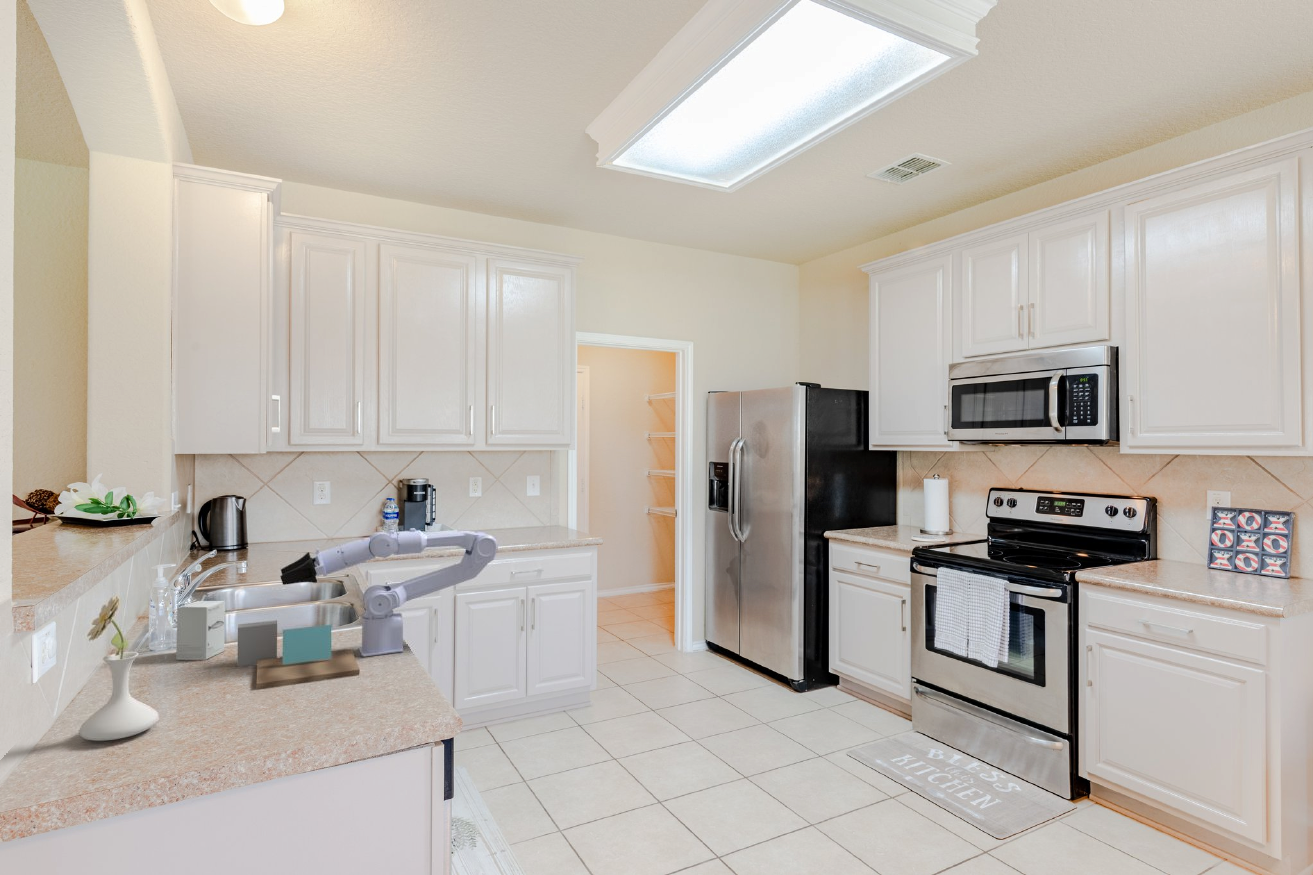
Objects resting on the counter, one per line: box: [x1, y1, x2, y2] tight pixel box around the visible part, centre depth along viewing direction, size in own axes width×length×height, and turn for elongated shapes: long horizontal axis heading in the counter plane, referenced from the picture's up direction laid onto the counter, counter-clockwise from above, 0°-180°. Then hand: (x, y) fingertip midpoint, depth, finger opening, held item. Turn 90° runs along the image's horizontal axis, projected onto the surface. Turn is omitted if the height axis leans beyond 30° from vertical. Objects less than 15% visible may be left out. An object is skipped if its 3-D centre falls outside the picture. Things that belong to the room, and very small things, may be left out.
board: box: [256, 648, 361, 690], centre depth 160 cm, size 20×18×1 cm
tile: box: [282, 624, 332, 665], centre depth 162 cm, size 10×8×1 cm
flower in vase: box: [78, 595, 160, 742], centre depth 124 cm, size 13×11×25 cm
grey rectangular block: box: [236, 620, 278, 668], centre depth 166 cm, size 8×4×9 cm, turn 119°
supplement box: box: [175, 600, 226, 661], centre depth 171 cm, size 7×7×13 cm
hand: (281, 577), depth 165 cm, fingers open, 7 cm apart
